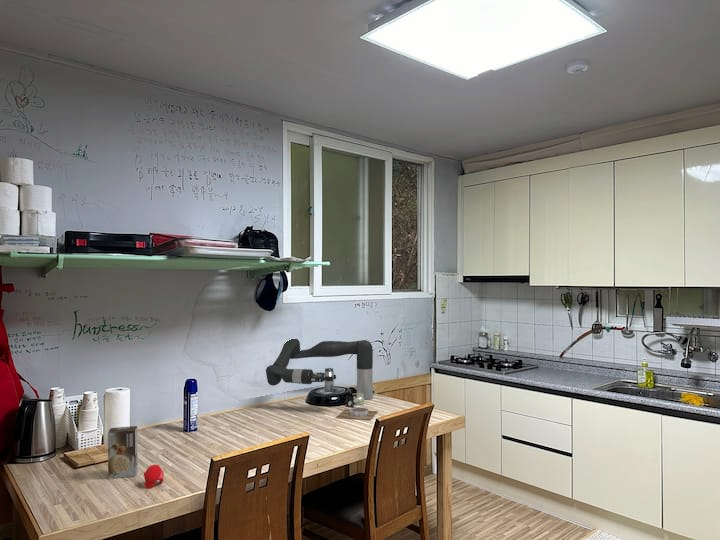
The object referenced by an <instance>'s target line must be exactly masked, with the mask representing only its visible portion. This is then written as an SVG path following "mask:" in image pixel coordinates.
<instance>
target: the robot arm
mask: <svg viewBox="0 0 720 540" xmlns="http://www.w3.org/2000/svg"><path fill="white" fill-rule="evenodd" d="M284 343H285V342H284ZM284 343H283V346H282V349H281V350H280V353H279V354H278V357H277V358H276V359H275V361H274V362H273V364H271V365H268V366H266V368H265V375H266V381H267V383H268V385H270V386H276V385H279V384H280V382H281V381H283V382H284V383H287V384H288V383H289V384H297V385H300V384H301V385H311V384H313V383H325V380H326V381H333V377H330V376H326V377H325V372H315V373H314V371H313V369H310V368H308V369H307V368H295V369H294V368H288V366H289V364H290V360H294V359H296V360H297V359H306V358H333V357H335V358H336V357H340V356H341V357H342V356H345V355H346V356H347V355H356V394H357V393H363V394H364V397H363V398H364V401H365V400H367V401H368V400H371V399H373V398H374V397H373V396H374V394H373V393H374V391H373V390H374V385H373V383H374V382H373V380H374V379H373V378H374V377H373V373H374V372H373V366H374V365H373V364H374V363H373V362H374V361H373V359H374V357H373V353H374V351H373V344H372V342H370V341H369V340H367V339H366V340H365V339H362V340H361V339H360V340H355V341H341V340H325V341H321V342H318V343H317V344H315V345H314V346H312V347H310V348H308V349H301V343H300V340H299V339H298V338H296V339H291V340H289V341H287V342H286V343H285V344H284ZM300 350H301V351H300ZM336 379H337V374H334V380H336Z"/></svg>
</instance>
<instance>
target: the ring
mask: <svg viewBox="0 0 720 540" xmlns="http://www.w3.org/2000/svg"><path fill="white" fill-rule="evenodd" d="M369 411H370V410H369V408H366V407H362V406H361V407H357V406H356V407H354V408H351V407H350V409H349V415H350V416H352V417H366V416H368V415H369Z"/></svg>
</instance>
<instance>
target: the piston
mask: <svg viewBox="0 0 720 540" xmlns="http://www.w3.org/2000/svg"><path fill="white" fill-rule="evenodd" d="M324 373H325V377H326V376H330V377H333V381H326V380H325V382H324V392H328V393H329V392H330V393H331V392H334V391H335V390H334V388H335V387H334V385H335V383H334V382H335V379H334V375H335V374H334V373H335V372H334V368H331V367H326V368H324Z"/></svg>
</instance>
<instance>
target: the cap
mask: <svg viewBox="0 0 720 540" xmlns="http://www.w3.org/2000/svg"><path fill="white" fill-rule="evenodd" d="M164 475H165V473H164V470H163V469H162V467H160V465H159V464H152V465H149V467H147V469H146V470H145V472H143V477H144V486H145V489H147V490H150V489H152V488H153V487H154V486H155V485H156V483H157V481H159V484H163V482H164Z"/></svg>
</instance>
